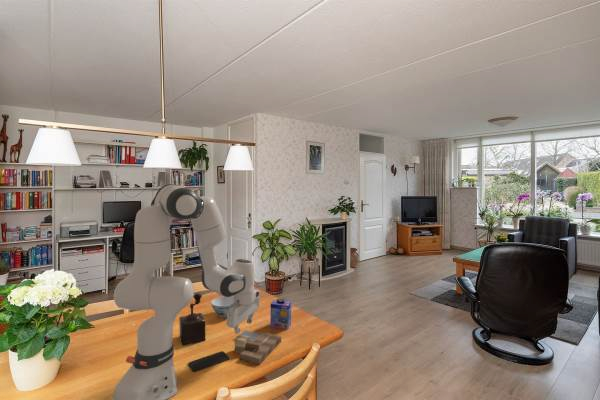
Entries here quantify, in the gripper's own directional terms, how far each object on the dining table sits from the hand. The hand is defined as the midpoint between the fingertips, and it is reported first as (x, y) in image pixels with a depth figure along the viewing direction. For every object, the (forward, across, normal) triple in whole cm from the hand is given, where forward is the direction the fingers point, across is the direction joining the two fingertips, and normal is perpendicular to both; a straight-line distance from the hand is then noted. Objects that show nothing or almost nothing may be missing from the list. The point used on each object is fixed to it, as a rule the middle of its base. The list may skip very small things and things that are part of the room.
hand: (243, 327), depth 130 cm
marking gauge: (+10, -1, -3) cm, 10 cm away
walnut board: (+10, +3, -7) cm, 13 cm away
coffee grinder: (+11, +1, +29) cm, 31 cm away
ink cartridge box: (+11, +27, -5) cm, 30 cm away
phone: (+10, -13, +8) cm, 18 cm away
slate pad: (+10, +10, +3) cm, 15 cm away
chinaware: (+12, +27, +29) cm, 42 cm away
